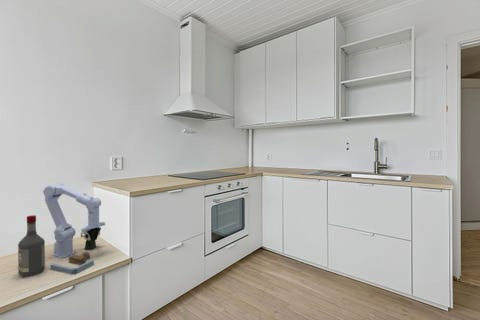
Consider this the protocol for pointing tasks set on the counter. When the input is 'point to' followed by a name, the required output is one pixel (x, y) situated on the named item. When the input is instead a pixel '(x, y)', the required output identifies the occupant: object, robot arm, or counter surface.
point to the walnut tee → (79, 258)
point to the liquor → (31, 251)
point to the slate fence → (70, 269)
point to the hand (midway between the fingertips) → (93, 240)
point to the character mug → (88, 240)
